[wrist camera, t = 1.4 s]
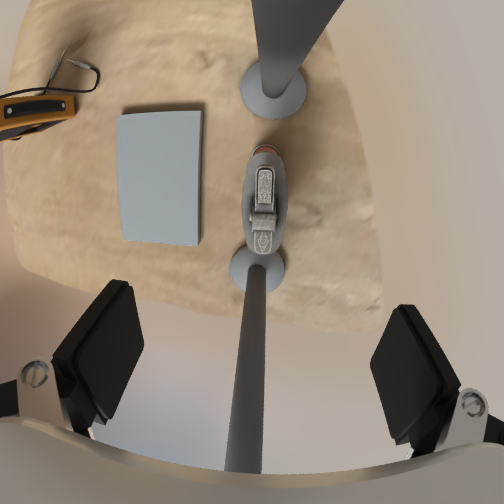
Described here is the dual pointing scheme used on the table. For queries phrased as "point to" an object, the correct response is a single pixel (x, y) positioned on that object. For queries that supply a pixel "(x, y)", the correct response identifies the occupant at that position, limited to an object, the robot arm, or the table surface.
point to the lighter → (264, 200)
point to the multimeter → (37, 108)
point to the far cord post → (250, 358)
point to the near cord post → (283, 53)
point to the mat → (160, 176)
